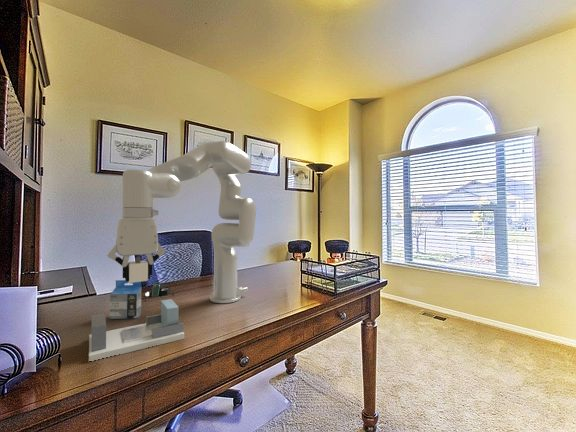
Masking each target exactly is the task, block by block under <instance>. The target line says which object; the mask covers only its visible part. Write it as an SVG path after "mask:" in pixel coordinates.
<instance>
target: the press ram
mask: <svg viewBox="0 0 576 432" xmlns="http://www.w3.org/2000/svg"><path fill="white" fill-rule="evenodd" d="M179 309H180V308H179V305H177V304H176V303H175V301H174V300H173V299H172V298H169V299H163V300H162V299H161V300H160V314H161V323H162V325H163V326H166V325H171V324H176V323H180V322H179V320H180V319H179V313H180V312H179V311H180V310H179Z"/></svg>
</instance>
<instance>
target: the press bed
mask: <svg viewBox="0 0 576 432" xmlns="http://www.w3.org/2000/svg"><path fill="white" fill-rule="evenodd" d="M145 323H146V325H145V326H140V327H135V328H130V329H125V330H122V336H123V340H124V343H125V342H130V341H134V340H139V339H143V338H147V337H152V339H154V338H159V337H163V336H167V335H171V334H176V333H180V332H184V322H183V321H181V322H179V323H176V324H171V325H166V326H162V327H157V328H152V330H151V328H150V326H149V325H153V324H158V323H161V313H159V314H153V315H147V316H146V317H145ZM106 331H107V319H106V312H101V313H95V314H91V334H92V345H91V352H93V351H97V350H102V349H106Z"/></svg>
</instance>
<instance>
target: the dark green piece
mask: <svg viewBox="0 0 576 432" xmlns="http://www.w3.org/2000/svg"><path fill="white" fill-rule="evenodd" d="M174 291H175V290H172V292H171V286H166V285H165V283H164V282H162V281H161V282H160V283H159V284H156V283H155V284H153V286H152V290H151V291H150V292H149V291H147V292H145V294H144V295H145V297H149V296H150V293H151V297H152V298H155V297H159V296H160V297H162V298H163V297H164V298H165V297H166V298H167V296H168V295H169V294H170V292H171V294H172V295H171V296H172V297H174V295H175V292H174Z"/></svg>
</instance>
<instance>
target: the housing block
mask: <svg viewBox="0 0 576 432" xmlns="http://www.w3.org/2000/svg"><path fill="white" fill-rule="evenodd" d="M134 258H135V259H134V261H133V260H132V261H128V266H129V283H128V284H132V283H133V282H141V283H142V282H147V281H149V279H148V262H147V260H141V257H140V256H135V257H134Z"/></svg>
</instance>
